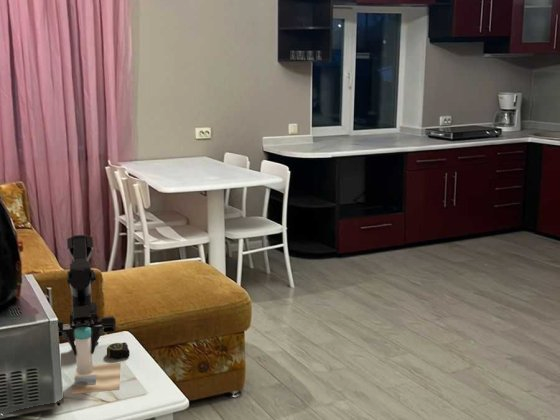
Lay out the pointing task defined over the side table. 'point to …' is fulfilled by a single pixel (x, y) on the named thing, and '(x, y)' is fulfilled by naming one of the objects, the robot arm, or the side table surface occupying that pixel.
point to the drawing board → (98, 379)
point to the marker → (83, 350)
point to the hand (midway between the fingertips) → (83, 354)
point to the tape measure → (118, 351)
